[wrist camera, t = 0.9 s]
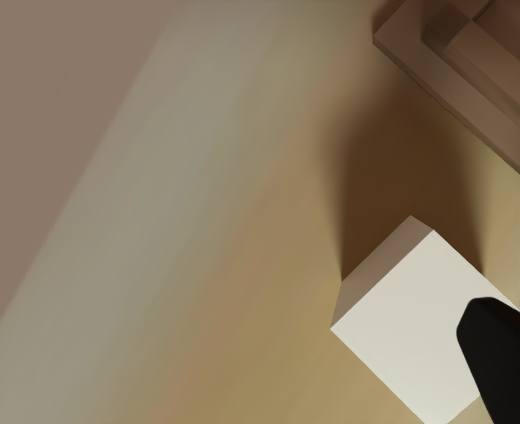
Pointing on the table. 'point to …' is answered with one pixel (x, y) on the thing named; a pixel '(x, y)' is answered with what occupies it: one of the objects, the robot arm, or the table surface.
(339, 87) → the table surface
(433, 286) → the white rectangular block
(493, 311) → the robot arm
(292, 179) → the table surface
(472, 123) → the sorting tray
